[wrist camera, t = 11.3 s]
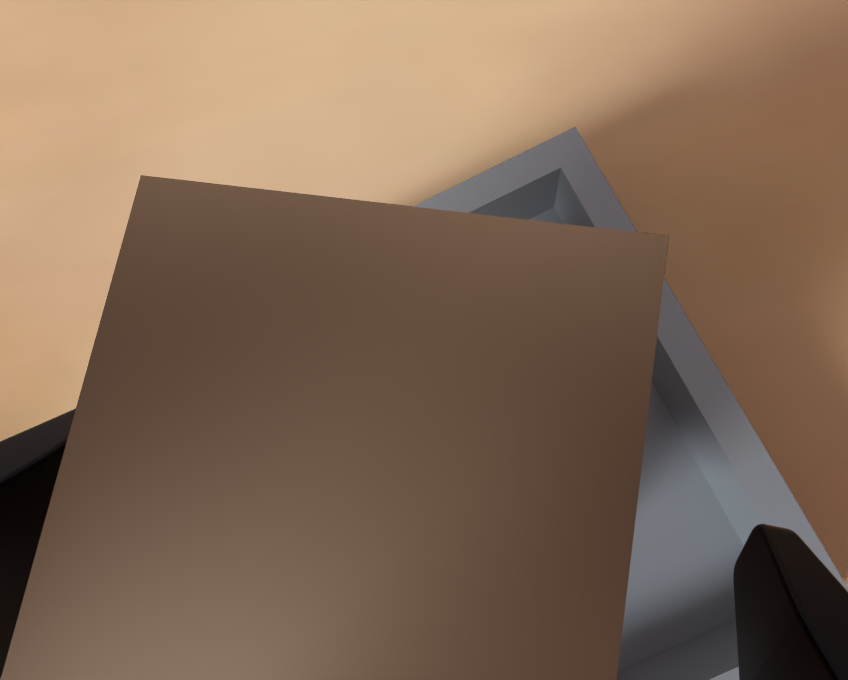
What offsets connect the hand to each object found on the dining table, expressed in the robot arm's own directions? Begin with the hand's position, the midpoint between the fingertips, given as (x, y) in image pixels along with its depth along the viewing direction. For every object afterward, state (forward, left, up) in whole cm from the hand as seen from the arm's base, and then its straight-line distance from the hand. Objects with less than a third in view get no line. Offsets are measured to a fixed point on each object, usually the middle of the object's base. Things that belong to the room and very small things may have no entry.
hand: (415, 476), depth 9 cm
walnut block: (0, 0, -8) cm, 8 cm away
